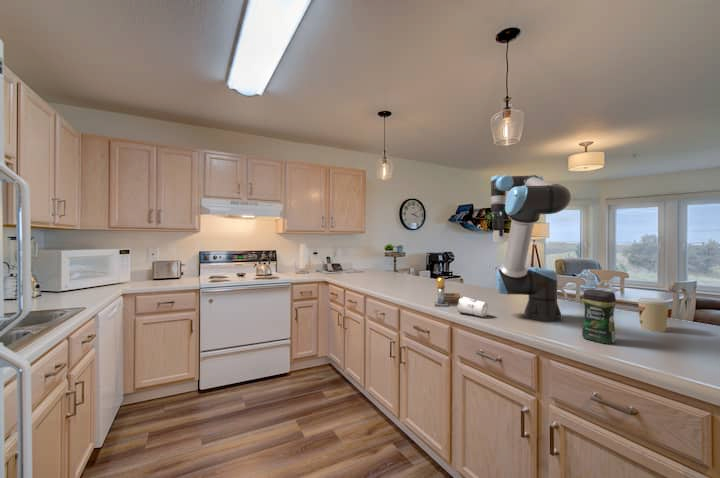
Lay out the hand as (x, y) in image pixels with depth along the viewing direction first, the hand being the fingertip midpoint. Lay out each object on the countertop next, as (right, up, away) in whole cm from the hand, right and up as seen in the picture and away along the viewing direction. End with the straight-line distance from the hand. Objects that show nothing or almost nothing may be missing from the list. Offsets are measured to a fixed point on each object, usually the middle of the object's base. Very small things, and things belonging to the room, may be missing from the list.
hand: (498, 242), depth 176 cm
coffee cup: (+43, -35, -46) cm, 72 cm away
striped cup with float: (-18, -32, -26) cm, 45 cm away
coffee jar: (+11, -36, -59) cm, 70 cm away
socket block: (-25, -35, +8) cm, 43 cm away
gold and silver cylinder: (-32, -34, 0) cm, 47 cm away
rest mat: (-32, -35, 0) cm, 47 cm away
